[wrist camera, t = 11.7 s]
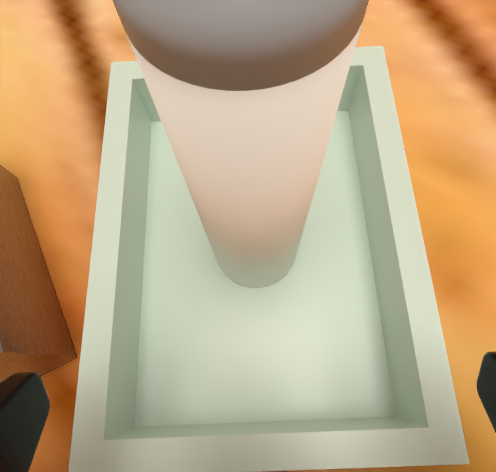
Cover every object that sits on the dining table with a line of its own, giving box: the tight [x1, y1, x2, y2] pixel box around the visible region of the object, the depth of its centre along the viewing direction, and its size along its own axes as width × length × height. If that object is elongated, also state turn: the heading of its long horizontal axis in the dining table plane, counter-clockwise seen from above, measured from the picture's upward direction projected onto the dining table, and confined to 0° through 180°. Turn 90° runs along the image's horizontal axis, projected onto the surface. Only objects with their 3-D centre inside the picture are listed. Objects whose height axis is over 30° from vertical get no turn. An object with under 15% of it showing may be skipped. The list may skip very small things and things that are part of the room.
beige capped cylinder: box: [113, 0, 369, 288], centre depth 11 cm, size 4×4×13 cm
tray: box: [68, 46, 470, 472], centre depth 16 cm, size 16×12×4 cm
